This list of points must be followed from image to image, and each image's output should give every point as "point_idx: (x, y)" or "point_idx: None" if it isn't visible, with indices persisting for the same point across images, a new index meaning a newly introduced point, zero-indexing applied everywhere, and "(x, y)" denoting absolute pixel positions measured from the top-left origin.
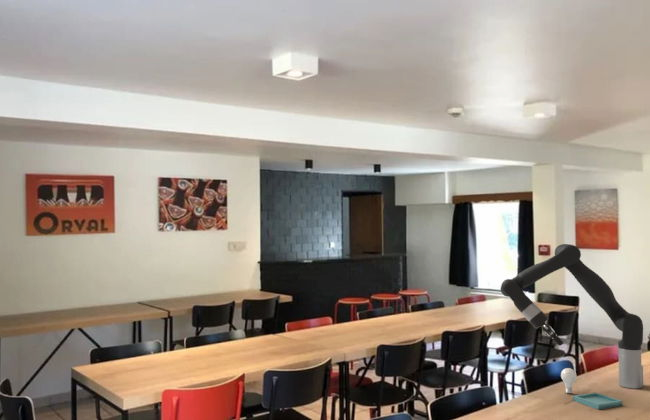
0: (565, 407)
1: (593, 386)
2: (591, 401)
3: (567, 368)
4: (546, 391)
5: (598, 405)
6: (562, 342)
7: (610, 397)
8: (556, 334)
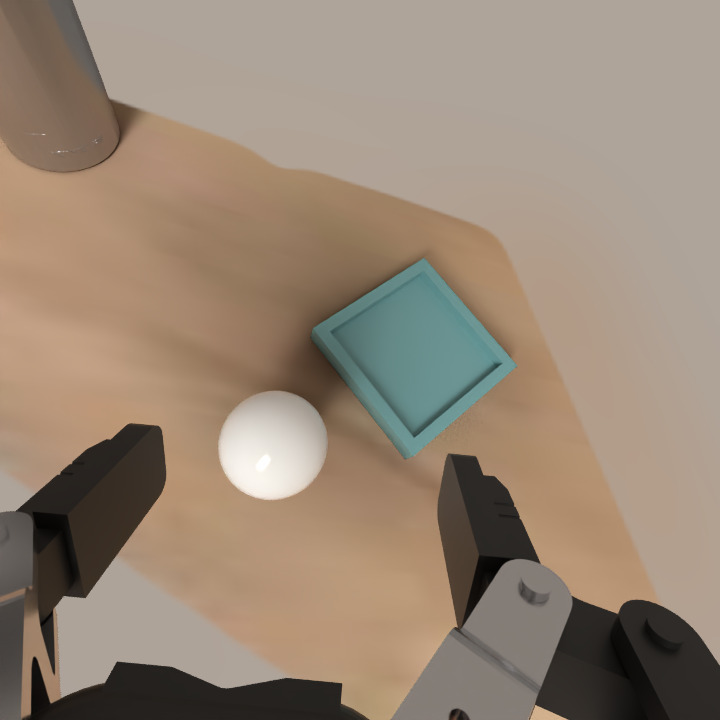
0: (527, 512)
1: (85, 298)
2: (481, 384)
3: (281, 443)
4: (249, 595)
5: (514, 367)
6: (475, 467)
7: (386, 287)
8: (546, 585)
